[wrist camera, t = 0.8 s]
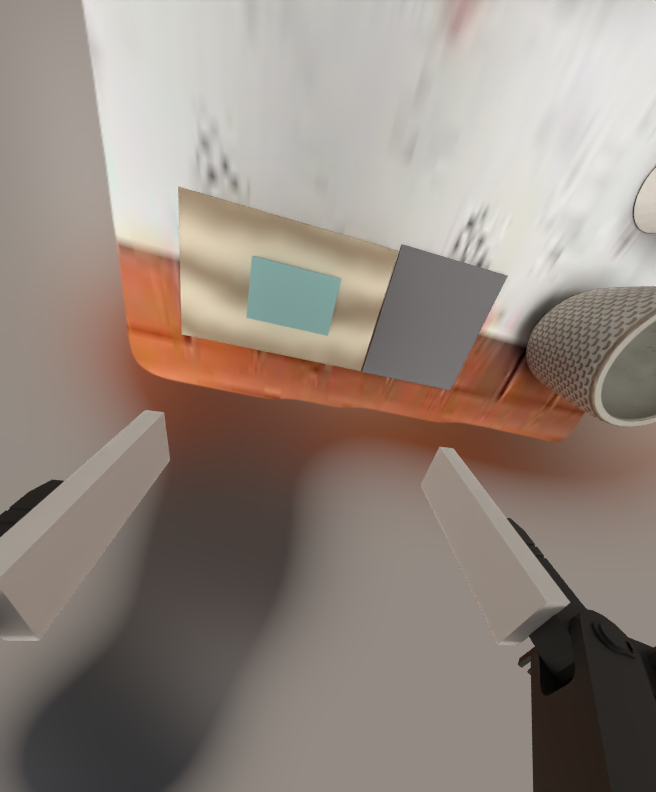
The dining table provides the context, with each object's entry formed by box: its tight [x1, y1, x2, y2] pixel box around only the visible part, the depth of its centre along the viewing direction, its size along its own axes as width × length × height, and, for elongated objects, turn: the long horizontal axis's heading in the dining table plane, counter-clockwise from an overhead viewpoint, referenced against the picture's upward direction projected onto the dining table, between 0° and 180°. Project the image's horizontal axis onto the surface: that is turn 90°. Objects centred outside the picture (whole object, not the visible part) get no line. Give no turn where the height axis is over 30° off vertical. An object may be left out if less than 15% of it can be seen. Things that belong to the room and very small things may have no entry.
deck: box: [178, 187, 398, 371], centre depth 29 cm, size 14×22×3 cm, turn 77°
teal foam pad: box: [246, 256, 341, 336], centre depth 27 cm, size 9×6×2 cm, turn 77°
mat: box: [362, 245, 507, 390], centre depth 34 cm, size 16×14×1 cm
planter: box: [526, 286, 656, 427], centre depth 30 cm, size 14×14×13 cm
